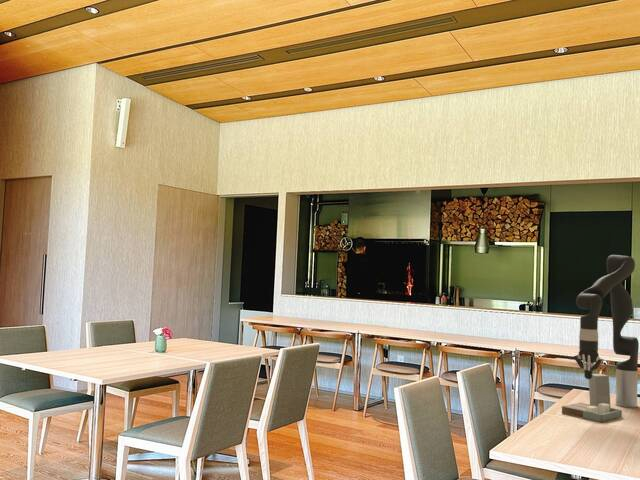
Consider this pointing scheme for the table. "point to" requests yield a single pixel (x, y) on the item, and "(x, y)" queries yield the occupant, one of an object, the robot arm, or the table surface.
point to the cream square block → (592, 409)
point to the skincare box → (599, 389)
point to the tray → (603, 415)
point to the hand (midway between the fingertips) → (588, 378)
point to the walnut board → (575, 409)
